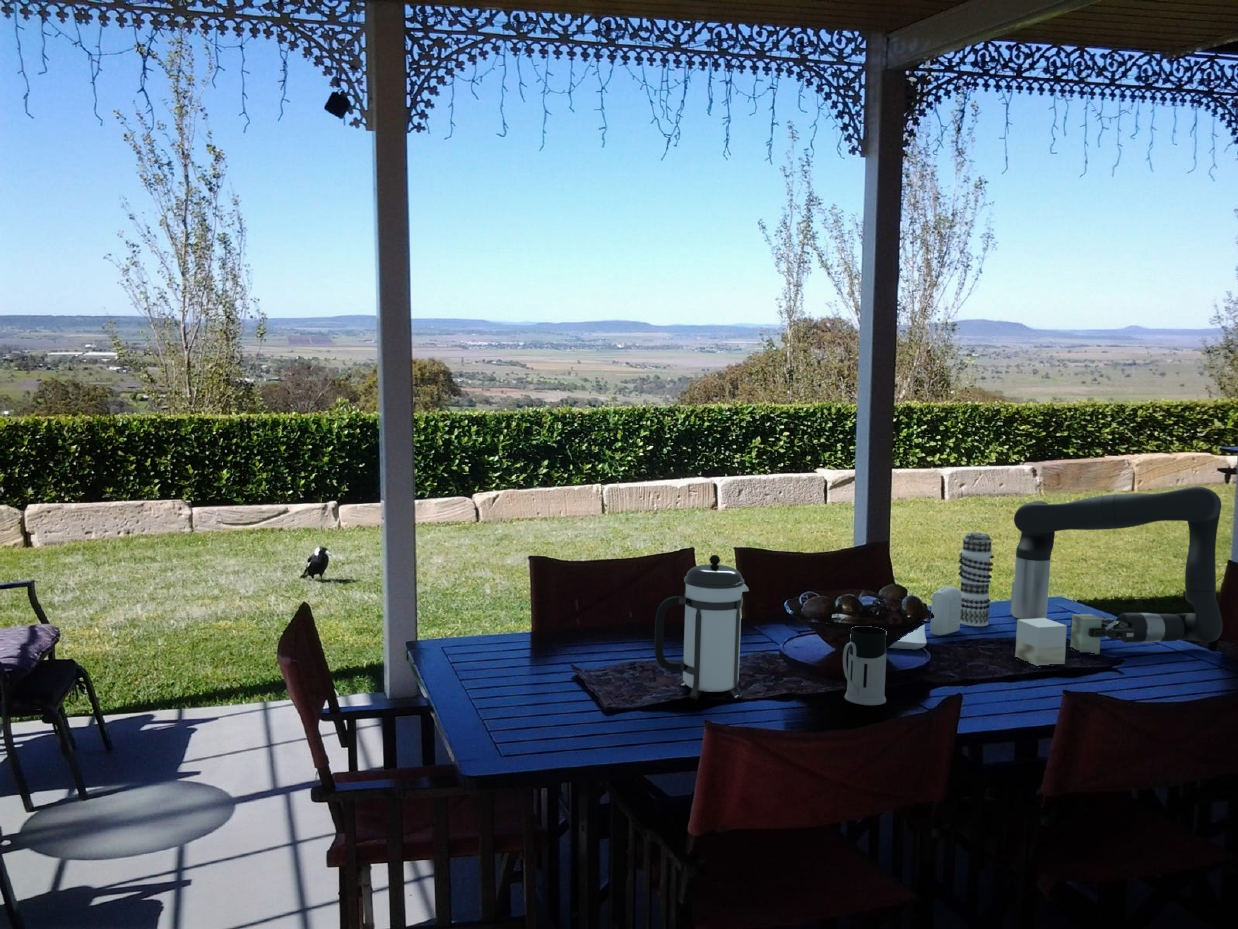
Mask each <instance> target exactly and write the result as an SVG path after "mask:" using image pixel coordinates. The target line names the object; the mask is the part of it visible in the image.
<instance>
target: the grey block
mask: <svg viewBox="0 0 1238 929" xmlns="http://www.w3.org/2000/svg"><path fill="white" fill-rule="evenodd" d="M1067 627H1068V626H1067V625H1066V624H1063V623H1060V622H1057V621H1054V620H1051V619H1050V618H1047V619H1046V618H1035V619H1019V618H1017V620H1016V634H1015V636H1016V637H1015V641H1016V640H1019V641H1021V642H1024V643H1026V644H1029V645H1031V646H1034V647H1036V648H1046V647H1060V646H1066V643H1067V629H1068V628H1067ZM1066 647H1067V646H1066Z"/></svg>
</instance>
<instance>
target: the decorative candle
mask: <svg viewBox="0 0 1238 929" xmlns="http://www.w3.org/2000/svg"><path fill="white" fill-rule="evenodd" d="M962 541H963V542H962V549H961V550H962V551H961V552H959V555H958V557H959V560H958V562H959V563H960V565H959V566H958V568H959V570H960V571H959V573H958V575H959V579H958V581H960V589H959V590H960V592H961V595H962V598H961V614H960V625H963V626H964V625H965V626H969V627H985V626H986V627H987V626H988V625H989V621H990V620H989V619H990V617H989V615H990V613H991V612H990V610H989V608H990V606H991V605H990V604H989V603H990V601H991V599H990V590H989V589H990V584H992V581H991V579H992V577H993V576H992V575H991V574H990V572H992V571H993V570H994V569H993V567H992V566H994V562H992V561H991V560H993V559H994V558H995V556H994V555H993V551H992V542H994V540H993V539H992V538H991V536H990V535H989V534H988V533H984V532H968V533H966V535H965V537H962Z"/></svg>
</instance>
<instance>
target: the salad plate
mask: <svg viewBox="0 0 1238 929" xmlns="http://www.w3.org/2000/svg"><path fill="white" fill-rule="evenodd" d="M925 626H926V624H925V623H924V625H922V626H920V627H919V628H918V629H917V630H914V631H913V632H911V633H908V634H907V635H906V636H904V637H902V638H901V639H900V640H898V641H897V642H896V643H894V644H893V646H892V647H890V648H903V649H912V650H918V649H921V648H924V647H925V646H926V645H927V638H926V629H925V628H926V627H925Z"/></svg>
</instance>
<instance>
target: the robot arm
mask: <svg viewBox="0 0 1238 929" xmlns="http://www.w3.org/2000/svg"><path fill="white" fill-rule="evenodd" d="M1221 510H1222V501H1221V497H1219V495H1218V494H1217V493H1216V492H1215V491H1213V490H1212V489H1209V488H1207V487H1204V486H1200V485H1199V486H1190V487H1189V486H1188V487H1186V488H1181V489H1176V490H1172V491H1171V490H1170V491H1163V492H1157V493H1117V494H1107V495H1099V496H1093V497H1086V498H1083V499H1078V500H1075V501H1070V502H1064V503H1048V502H1045V501H1042V500H1035V501H1031V502H1027V503H1025V504H1022V505H1021V506H1020V507H1019V508H1018V509H1017V510H1016V512H1015V514H1014V516H1013V522H1014V525H1015V528H1017V530H1018V531H1019V532H1021V535H1020V540H1019V543H1018V544H1017V547H1016V548H1015V549H1016V551H1015V564H1014V566H1015V568H1014V581H1012V583H1011V595H1010V596H1011V600H1010V601H1011V602H1010V610H1009V611H1010V615H1012V616H1011V617H1013V618H1016V619H1035V618H1046V619H1048V618H1047V616H1048V601H1049V586H1050V571H1051V557H1052V551H1053V549H1054V545H1055V536H1056V535H1055V534H1056V532H1060V531H1070V530H1071V531H1072V530H1075V531H1076V530H1077V531H1080V530H1081V531H1082V530H1083V531H1089V530H1090V531H1093V530H1095V531H1097V530H1103V531H1104V530H1117V529H1128V528H1134V527H1138V526H1142V525H1147V524H1151V523H1156V522H1165V521H1166V522H1170V521H1171V522H1172V521H1178V522H1179V521H1180V522H1181V521H1183V522H1187V525H1188V531H1189V532H1188V536H1189V541H1188V551H1187V557H1186V562H1185V572H1184V589H1185V590H1184V591H1185V592H1184V596H1185V600H1186V601H1187V602H1188V603H1189V604H1192V605H1193V609H1194V612H1189V613H1188V612H1185V613H1183V612H1182V613H1174V614H1173V613H1151V612H1122V613H1120V614H1119V615H1118V616H1117V617H1116V619H1115V618H1109V617H1108V618H1107V617H1106V616H1097V617H1098V618H1101V619H1102V624H1101V628H1089V633H1088V635H1089V636H1090V637H1101V638H1105V639H1110V640H1112V641H1120V642H1122V643H1124V644H1125V643H1126V644H1128V643H1130V644H1134V643H1135V644H1138V643H1139V644H1140V643H1142V644H1144V643H1145V644H1147V643H1155V642H1156V643H1157V642H1176V641H1197V642H1204V643H1213V642H1215V641H1217V640H1218V639H1219V638H1220V636H1221V635H1222V632H1223V629H1224V628H1223V627H1224V626H1223V625H1224V624H1223V619H1222V614H1221V610H1220V607H1219V603H1218V600H1217V582H1216V581H1217V575H1216V574H1217V573H1216V572H1217V567H1216V547H1217V535H1218V534H1217V533H1218V526H1219V520H1220V516H1221ZM1070 628H1072V619H1071V620H1070Z"/></svg>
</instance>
